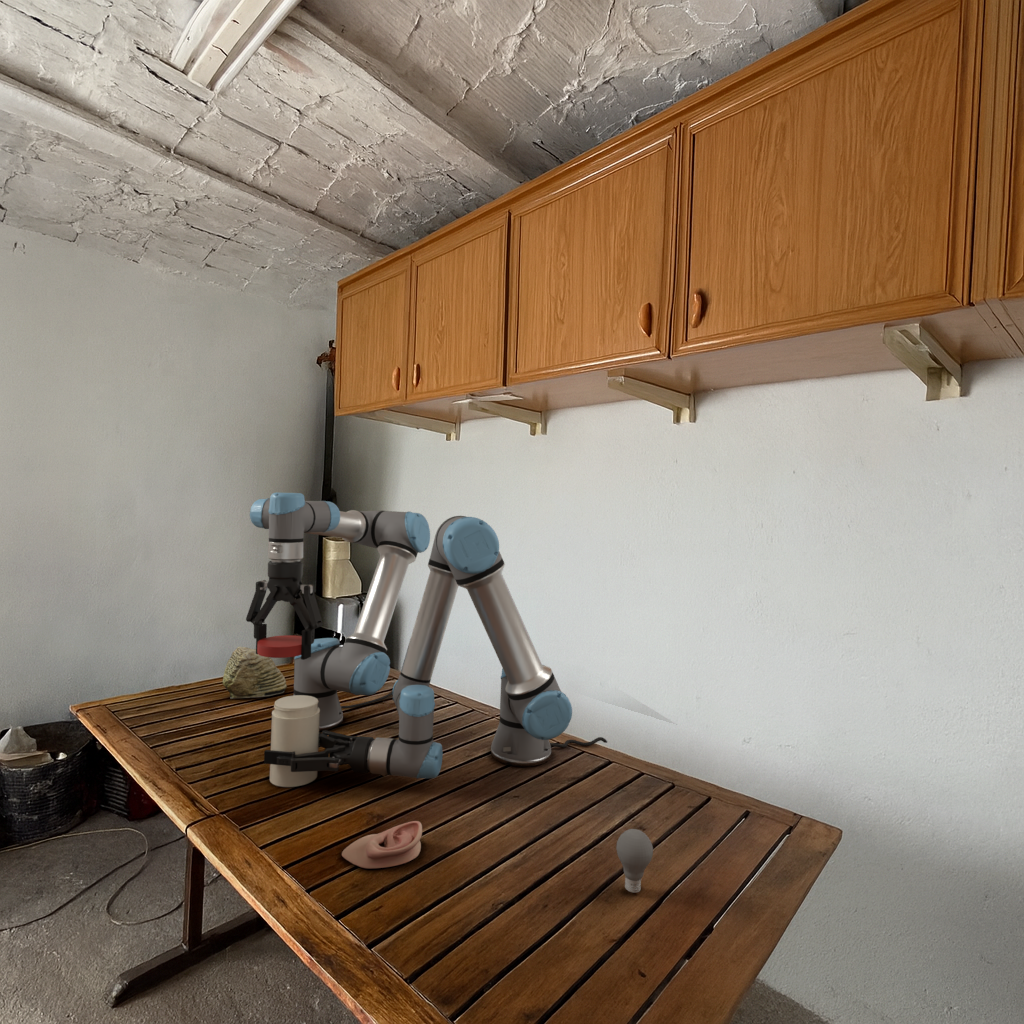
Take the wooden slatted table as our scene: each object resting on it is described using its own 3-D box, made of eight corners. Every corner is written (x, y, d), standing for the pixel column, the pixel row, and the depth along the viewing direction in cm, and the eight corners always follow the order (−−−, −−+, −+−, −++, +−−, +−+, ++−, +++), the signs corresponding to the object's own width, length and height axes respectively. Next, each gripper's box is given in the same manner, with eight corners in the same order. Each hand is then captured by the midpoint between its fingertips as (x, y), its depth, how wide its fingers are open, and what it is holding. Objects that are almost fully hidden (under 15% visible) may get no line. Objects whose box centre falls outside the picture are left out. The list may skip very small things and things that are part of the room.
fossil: (218, 695, 195) (220, 647, 195) (278, 685, 208) (279, 640, 207) (228, 703, 189) (230, 653, 188) (289, 692, 201) (290, 645, 201)
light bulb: (610, 879, 108) (613, 822, 108) (644, 879, 109) (647, 822, 109) (619, 902, 102) (622, 840, 102) (655, 901, 103) (658, 840, 103)
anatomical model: (334, 840, 110) (362, 809, 121) (333, 863, 110) (362, 830, 121) (406, 852, 107) (429, 819, 118) (405, 875, 107) (428, 840, 118)
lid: (317, 647, 150) (317, 637, 149) (294, 659, 139) (294, 648, 138) (273, 643, 151) (274, 633, 151) (247, 655, 140) (247, 644, 140)
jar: (264, 787, 137) (267, 709, 136) (274, 767, 147) (277, 694, 146) (314, 786, 138) (317, 708, 138) (320, 766, 149) (322, 694, 148)
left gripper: (230, 558, 144) (228, 654, 144) (322, 565, 138) (319, 665, 138) (251, 555, 151) (249, 646, 152) (340, 561, 145) (337, 656, 146)
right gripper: (353, 795, 129) (250, 785, 132) (386, 752, 152) (298, 744, 154) (354, 759, 129) (251, 750, 131) (388, 720, 152) (299, 713, 154)
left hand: (283, 655), depth 145 cm, fingers closed on lid, 11 cm apart
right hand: (276, 747), depth 143 cm, fingers closed on jar, 10 cm apart
